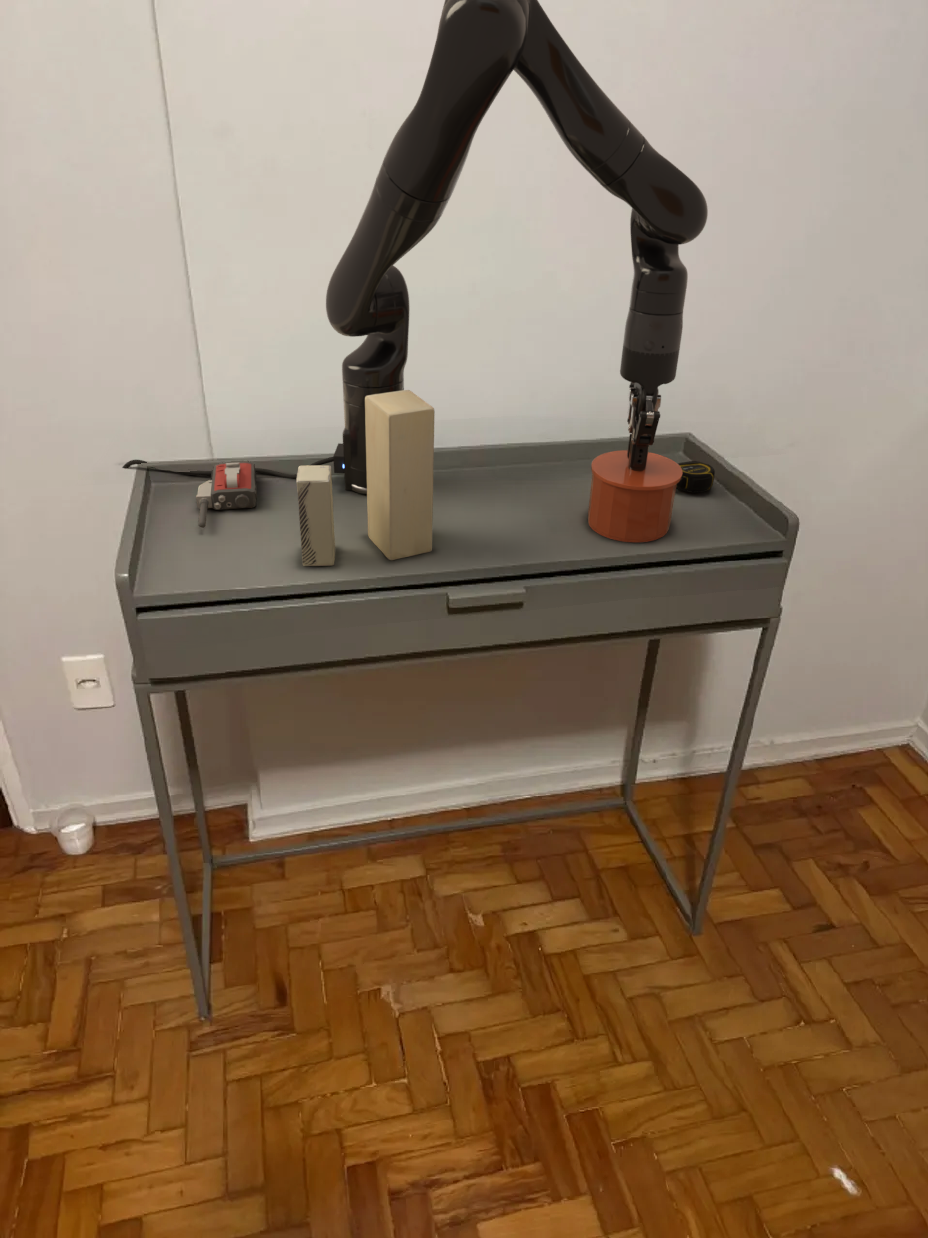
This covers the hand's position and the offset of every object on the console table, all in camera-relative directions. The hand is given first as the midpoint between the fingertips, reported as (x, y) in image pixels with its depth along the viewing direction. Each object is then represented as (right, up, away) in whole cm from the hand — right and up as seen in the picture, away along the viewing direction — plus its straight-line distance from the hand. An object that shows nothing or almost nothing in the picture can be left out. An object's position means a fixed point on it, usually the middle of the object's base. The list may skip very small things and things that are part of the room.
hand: (635, 462), depth 134 cm
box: (-45, -14, -6) cm, 47 cm away
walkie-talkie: (-61, -5, +8) cm, 61 cm away
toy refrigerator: (-33, -12, -2) cm, 36 cm away
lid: (0, -1, +1) cm, 1 cm away
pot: (0, -8, +5) cm, 10 cm away
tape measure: (+11, -1, +17) cm, 21 cm away
